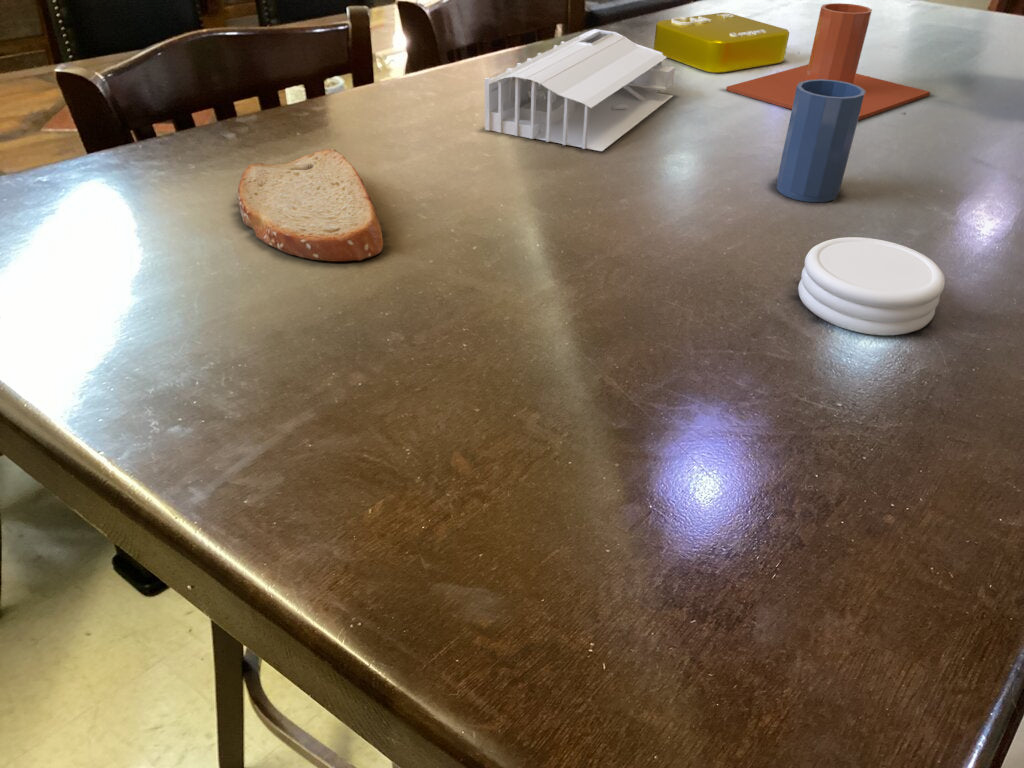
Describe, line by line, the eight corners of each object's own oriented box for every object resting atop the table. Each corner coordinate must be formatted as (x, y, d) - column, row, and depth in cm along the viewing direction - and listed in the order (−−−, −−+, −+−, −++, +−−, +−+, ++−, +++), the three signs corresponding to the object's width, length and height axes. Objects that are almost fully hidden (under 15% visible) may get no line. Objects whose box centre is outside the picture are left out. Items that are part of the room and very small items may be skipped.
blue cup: (850, 192, 81) (878, 90, 75) (815, 207, 78) (841, 102, 72) (799, 174, 85) (821, 75, 79) (763, 188, 82) (784, 86, 76)
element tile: (713, 75, 115) (718, 39, 112) (647, 51, 125) (651, 17, 123) (789, 62, 121) (796, 27, 118) (721, 40, 132) (726, 8, 129)
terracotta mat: (929, 95, 108) (930, 91, 108) (845, 125, 98) (846, 121, 98) (812, 66, 120) (813, 62, 119) (725, 90, 109) (726, 86, 109)
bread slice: (365, 269, 67) (361, 227, 65) (176, 239, 71) (166, 198, 69) (443, 188, 81) (442, 151, 78) (282, 167, 85) (276, 131, 83)
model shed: (598, 154, 89) (603, 89, 85) (482, 131, 95) (482, 69, 90) (674, 95, 107) (681, 39, 103) (573, 79, 112) (576, 25, 108)
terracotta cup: (860, 90, 108) (881, 9, 102) (834, 98, 105) (854, 15, 99) (821, 80, 112) (839, 1, 106) (794, 88, 109) (811, 7, 103)
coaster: (813, 262, 69) (823, 224, 67) (940, 293, 65) (955, 253, 63) (781, 315, 62) (791, 273, 60) (921, 352, 58) (937, 310, 56)
